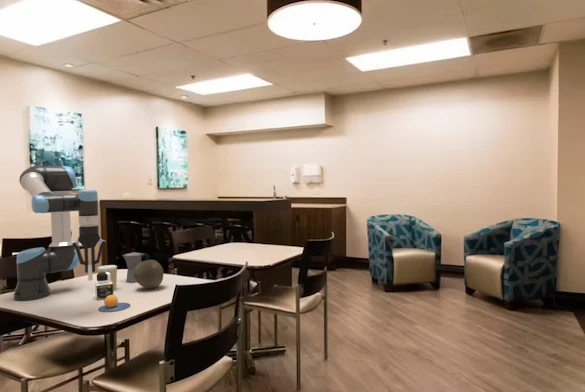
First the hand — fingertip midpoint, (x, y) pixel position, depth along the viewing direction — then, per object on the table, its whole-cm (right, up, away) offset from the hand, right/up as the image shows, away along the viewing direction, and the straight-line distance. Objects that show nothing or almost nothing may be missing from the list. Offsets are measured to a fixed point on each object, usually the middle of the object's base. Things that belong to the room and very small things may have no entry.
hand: (90, 279), depth 172 cm
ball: (+7, -10, +4) cm, 13 cm away
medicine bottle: (-4, -13, +20) cm, 24 cm away
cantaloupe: (+13, -12, +35) cm, 39 cm away
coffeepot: (-1, -12, +53) cm, 54 cm away
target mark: (+9, -13, +4) cm, 16 cm away
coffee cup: (-8, -13, +34) cm, 38 cm away
